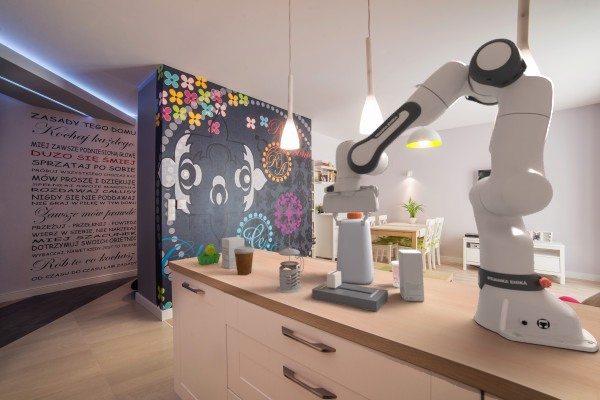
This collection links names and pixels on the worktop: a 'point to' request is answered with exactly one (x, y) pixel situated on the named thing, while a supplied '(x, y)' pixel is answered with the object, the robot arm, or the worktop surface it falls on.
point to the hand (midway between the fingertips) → (350, 225)
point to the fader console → (352, 295)
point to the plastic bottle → (355, 251)
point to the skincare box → (411, 275)
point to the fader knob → (334, 279)
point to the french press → (289, 271)
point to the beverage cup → (395, 273)
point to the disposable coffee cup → (244, 259)
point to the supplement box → (230, 251)
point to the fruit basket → (208, 256)
